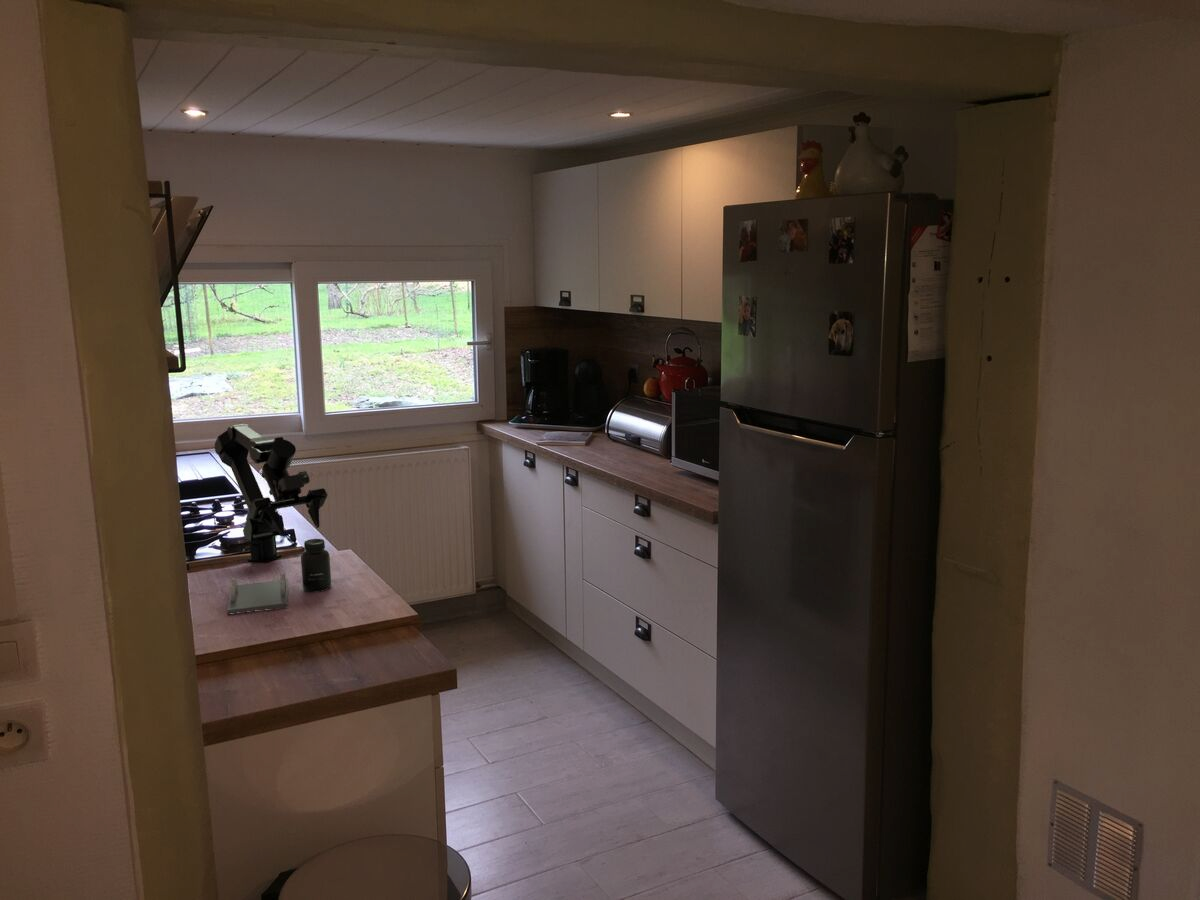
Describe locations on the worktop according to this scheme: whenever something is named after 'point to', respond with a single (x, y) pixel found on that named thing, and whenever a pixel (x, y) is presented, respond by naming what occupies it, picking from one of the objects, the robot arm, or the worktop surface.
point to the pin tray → (258, 595)
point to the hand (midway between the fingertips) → (301, 530)
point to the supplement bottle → (315, 566)
